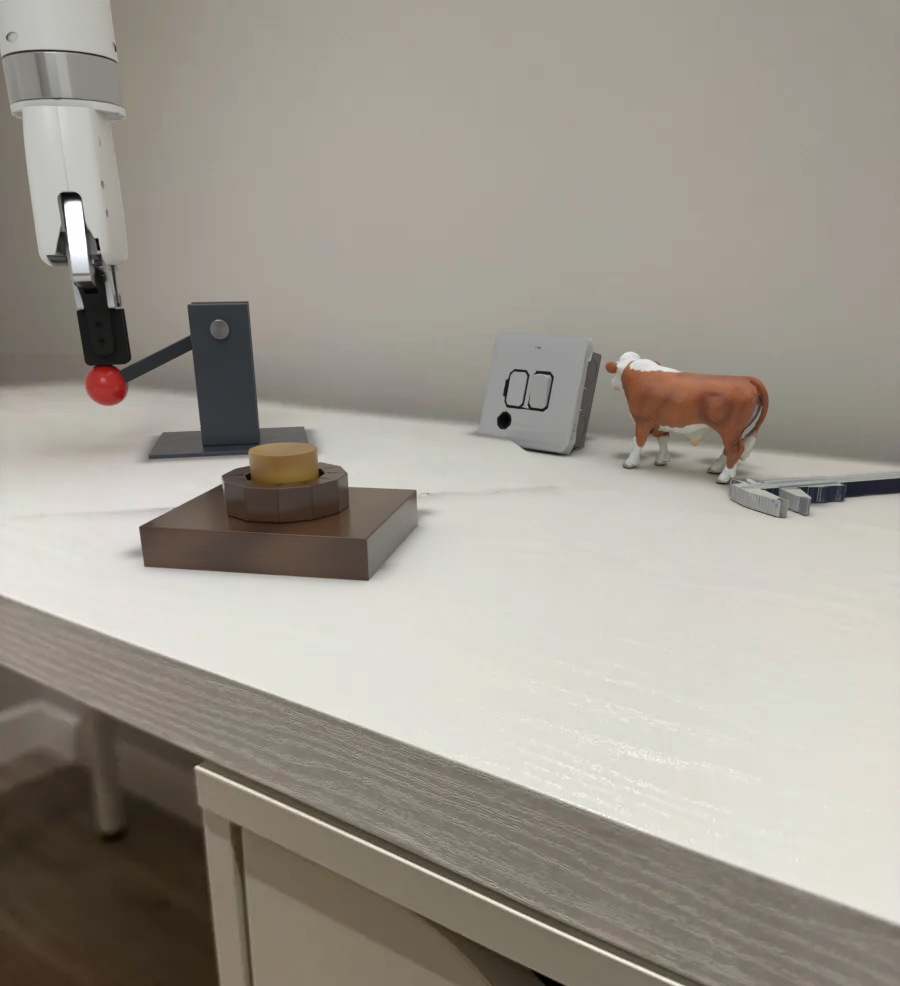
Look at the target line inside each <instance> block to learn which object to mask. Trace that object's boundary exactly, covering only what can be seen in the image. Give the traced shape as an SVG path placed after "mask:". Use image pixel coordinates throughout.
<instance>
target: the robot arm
mask: <svg viewBox="0 0 900 986" xmlns="http://www.w3.org/2000/svg"><path fill="white" fill-rule="evenodd" d="M118 56H119V55H118V50H117V42H116V36H115V29H114V22H113V15H112V6H111V0H0V57H1V62H2V68H3V69H2V70H3V74H4V79H5V85H6V90H7V96H8V102H9V108H10V113H11V116H13V117H14V118H16V119H19V120H22V132H23V144H24V155H25V163H26V164H25V165H26V171H27V179H28V186H29V194H30V202H31V208H32V217H33V223H34V230H35V238H36V244H37V252H38V255H39V258H40V260H41V261H42V262H43V263H44V264H46V265H47V266H49V267H68V270H69V276H70V281H71V287H72V291H73V295H74V300H75V302H74V303H75V306H76V309H77V310H76V318H77V323H78V330H79V335H80V341H81V348H82V353H83V359H84V363H85V364H86V365H87V366H90V367H94V366H98V365H113V366H116V365H117V366H118V365H121V366H122V365H126V364H128V363H130V362H131V360H132V352H131V345H130V339H129V331H128V326H127V325H128V324H127V318H126V312H125V311H126V310H125V308H123V302H122V293H121V285H120V276H119V268H118V266H122V265H123V264H124V263H125V262H126V261H127V260H128V258H129V245H128V237H127V227H126V218H125V217H126V216H125V210H124V204H123V195H122V190H121V189H122V188H121V181H120V175H119V169H118V163H117V156H116V149H115V143H114V137H113V136H114V135H113V131H112V124H113V123H118V122H122V121H124V120H126V119H127V115H126V114H127V113H126V109H125V100H124V93H123V92H124V91H123V86H122V79H121V78H122V77H121V72H120V65H119V57H118ZM111 123H112V124H111Z"/></svg>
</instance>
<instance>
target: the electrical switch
mask: <svg viewBox="0 0 900 986" xmlns="http://www.w3.org/2000/svg"><path fill="white" fill-rule="evenodd" d="M602 357H603V356H602V354H601V353H599V352H598V353H597V352H595V351H594V342H593V338H591V337H588V336H585V335H569V334H552V333H551V334H550V333H549V334H548V333H533V332H531V333H530V332H510V331H508V332H507V331H500V332H499V333H498V334H497V336H496V337H494V343H493V348H492V355H491V359H490V365H489V370H488V376H487V381H486V387H485V391H484V393H485V394H484V398H483V403H482V409H481V414H480V419H479V425H478V431H477V433H478V434H482V435H488V436H496V437H503V438H507V439H508V440H509V441H511V442H512V443H514V444H515V445H516V446H518V447H520V449H526V450H532V451H538V452H539V451H540V452H545V453H553V454H560V455H570V453H571V452H572V450H573V448H575V449H576V448H577V449H583V448H584V447H585V443H586V438H587V433H588V428H589V424H590V423H589V422H590V418H591V413H592V408H593V402H594V397H595V392H596V388H597V382H598V379H599V372H600V368H601V363H602Z"/></svg>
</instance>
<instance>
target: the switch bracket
mask: <svg viewBox="0 0 900 986" xmlns="http://www.w3.org/2000/svg"><path fill="white" fill-rule="evenodd" d="M186 306H187V307H186V308H187V315H188V317H187V318H188V326H189V335H190V336H191V345H192V350H191V353H192V361H193V372H194V379H195V380H194V381H195V389H196V397H197V407H198V417H199V426H200V430H184V431H163V432H162V433H160V435H159V437H158V439H157V440H156V443H155V444H154V445H153V447H152V449H151V450H150V452H149V454H148V460H160V459H162V460H163V459H164V460H165V459H180V458H181V459H182V458H183V459H184V458H185V459H186V458H204V457H207V458H208V457H226V456H245V455H246V456H249V453H248V451H249V449H251V448H253V447H255V446H259V445H264V444H271V443H286V442H295V443H307V444H309V440H308V437H307V433H306V429H305V426H304V425H303V426H301V425H300V426H278V427H277V426H276V427H260V418H259V416H260V415H259V407H258V406H259V405H258V394H257V382H256V371H255V361H254V360H255V359H254V348H253V338H252V337H253V335H252V324H251V313H250V312H251V311H250V302H249V300H232V301H231V300H230V301H229V300H228V301H227V300H226V301H223V300H222V301H219V300H218V301H191V302H190V303H188V304H187V305H186Z"/></svg>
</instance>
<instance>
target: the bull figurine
mask: <svg viewBox="0 0 900 986" xmlns="http://www.w3.org/2000/svg"><path fill="white" fill-rule="evenodd" d="M604 368H605V371H606V372H607V373H608V374H615V376H614V378H612V379H611V381H610V388H611V389H614V390H615V391H620V393H621V395H622V399H624V401H625V402H626V405H627V414H628V417H629V419H630V420H631V422H632V424H633V426H634V428H635V432H634V433H635V434H634V437H633V439H632V449H631V452H630V454H629V455H628V458H626V460H625V461H624V462H623V463H622V464H621V465H622V467H623V468H625V469H632V468H635V467H636V466H640V465H641V462H642V461H641V452H642V450H643V448H644V447H645V445H647V440H648V437H651V438H656V441H657V444H658V446H659V447H658V448H659V451H658V455H657V456H656V458H655V461H654V462H653V464H654V465H657V466H664V465H667V464H668V463H670V462H672V457H671V455H670V452H669V449H668V442H669V440H670V432H673V433H676V434H680V435H683V436H686V437H687V438H689V440H690V445H691V446H693V447H696V446H698V445H699V443H700V442H701V441H702V439H703V438H704V437H705V436H706V435H708V434H710V433H712V432H713V431H715V432H717V434H718V435H719V436H720V438H721V441H722V444H723V447H724V448H723V450H722V452H721V454H720V456H719V457H718V458H717V459H716V460H715V461H714V462H713V463H712V464H711V465H710V466H708V468H707V472H708V473H713V474H719V473H720V474H719V476H717V478H716V479H715V482H716V483H719V484H727V483H729V482H730V480H731V479H734V478H735V477H736V475H737V467H738V464H739V462H744V461H745V460H747V458H749V457H750V455H751V452H752V451H753V448H754V446H755V443H756V441H757V438H758V432H759V430H760V427H762V424H763V423H764V422H765V419H766V417H767V414H768V410H769V403H770V401H769V394H768V393H769V392H768V390H767V388H766V386H765V384H764V382H762V381H761V380H760V379H759V378H758V377H756V376H753V375H730V374H713V373H711V374H710V373H695V372H687V371H681V370H678V369H675V368H672V367H667V366H662V365H661V363H660V362H659V361H658V360H657V361H656V360H651V359H648V358H641V356H640V355H639V354H638V353H636V352H634V351H625V353H623V354H622V355H621V356H619V359H618V360H617V361H607V362H606V363H605V365H604ZM758 416H759V417H758ZM756 419H757V420H756ZM755 420H756V422H755V423H754V421H755ZM753 423H754V426H753V427H752V429H751V430H749V432H747V433H746V434H745V435H744V437H743V434H744V432H745V431H746V430H747V429H748V428H749V427H750V426H752V424H753Z"/></svg>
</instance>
